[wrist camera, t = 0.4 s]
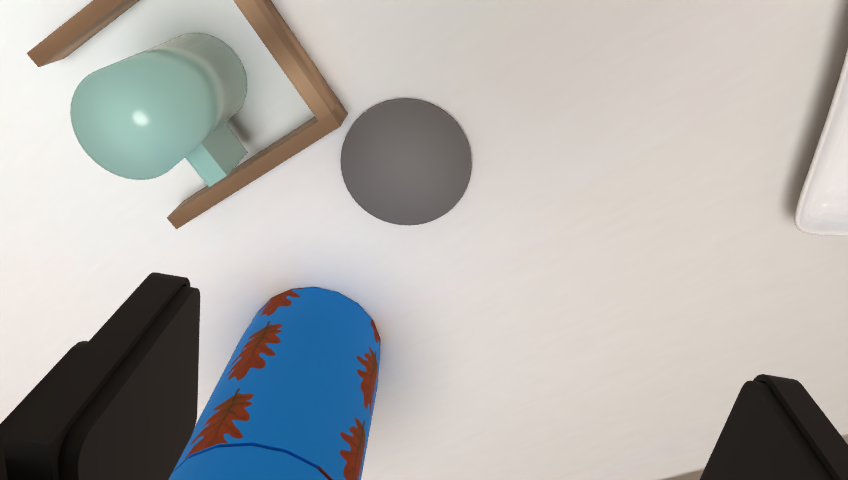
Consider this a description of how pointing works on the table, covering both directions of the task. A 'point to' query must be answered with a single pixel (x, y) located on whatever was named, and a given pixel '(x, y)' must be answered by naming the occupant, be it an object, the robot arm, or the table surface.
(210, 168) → the teal mug
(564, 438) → the table surface
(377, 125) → the coaster
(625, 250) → the table surface
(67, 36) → the holder
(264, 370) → the thermos
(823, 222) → the salad plate
